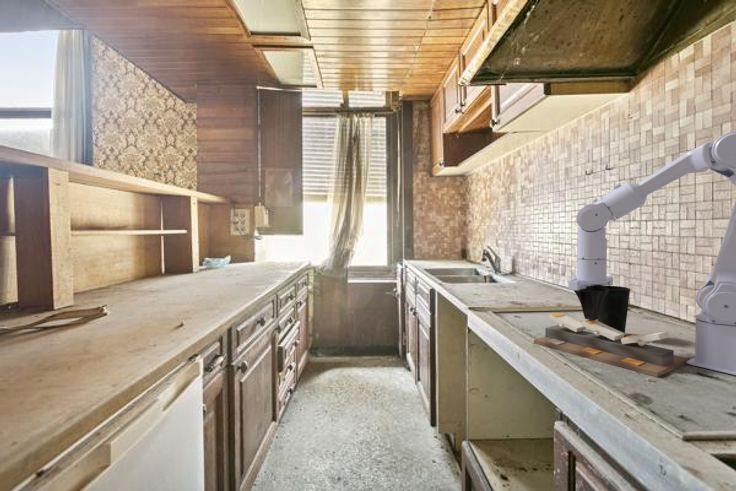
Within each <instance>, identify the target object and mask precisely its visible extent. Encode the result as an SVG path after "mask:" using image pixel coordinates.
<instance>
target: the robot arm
mask: <svg viewBox="0 0 736 491" xmlns="http://www.w3.org/2000/svg"><path fill="white" fill-rule="evenodd" d="M712 143H713V144H712ZM708 170H711V171H713V172H715V173H716V174H720V175H721V176H723V177H726V178H727V180H729V181H730V182H731V183H732V184H733V185H734V186H736V130H734V131H733V130H732V131H729V132H726V133H724V134H722V135H721V136H719V137H718V138H717V139H716V140H715V141H714V142H713V140H711V141H709V142H706V143H704V144H702V145H700V146H698V147H696V148H694V149H692V150H690V151H688V152H686V153H684V154H682V155H681V156H679V157H678V158H676V159H675V160H673V161H671V162H670V163H668V164H666V165H665V166H663V167H662V168H660V169H658V170H657V171H655V172H653V173H651V175H648V176H647V177H646V178H644V179H642V180H641V181H640V182H637V183H634V182H625V183H623V184H621V183H618V184H616V185H614V186H613V190H612V191H610V192H608V193H607V194H605V195H604V196H602V197H600V198H599V199H598V198H594V199H593V200H592V203H589V204H585V205H584V206H582V207H581V208H580V209H579V210H578V212H577V214H576V224H577V225H578V226H579V227H578V229H577V235H578V238H577V239H576V241H577V242H576V276H572V278H571V279H570V280H568V288H567V289H568V290H569V291H574V293H575V295H576V297H577V299H578V300H579V303H580V305H581V310H582V313H583V317H584V319H585V320H597V318H598V315H599V312H600V309H601V305H602V303H603V301H604V299H605V297H606V295H607V294H608V293H609V288H602V286H614V276H608V275H607V270H608V269H607V268H608V267H607V261H608V258H607V257H608V253H607V251H608V247H607V246H608V238H606V230H607V229H606V226H607V224H608V222H610V221H611V222H615V221H617V220H619V219H620V218H623V217H625V216H626V215H628V214H630V213H631V212H634V211H635V210H637V209H639V208H641V207H642V206H644V205H645V203H646V200H647V197H648V196H649V195H650V194H652V193H654V192H656V191H658V190H659V189H661V188H663V187H665V186H667V185H669V184H671V183H673V182H675V181H676V180H678V179H680V178H682V177H684V176H686V175H688V174H696V173H705V172H706V171H708ZM724 232H725V233H724V235H723V239H722V242H721V244H720V247H719V251H718V254H717V256H716V261H715V263H714V267H713V268H712V270H711V271H710V274H709V275H708V276H707V280H706V282H705V284H704V285H702V286H701V287H700V288H699V289H698V291H697V292H696V295H695V302H696V304H697V306H698V307H699V308H700V309H701V310H700V311H699V313H697V314H696V315H695V334H694V335H695V336H694V338H695V344H694V345H695V347H694V352H695V353H694V357H692V358H691V359H690V358H689V359H690V360H688V361H686V363H687V364H686V365H691V366H696V367H700V368H703V369H707V370H708V369H709V370H712V371H716V372H721V373H725V374H729V375H733V376H736V200H734V204H733V207H732V211H731V214H730V217H729V220H728V223H727V226H726V229H725V231H724ZM597 321H598V320H597Z"/></svg>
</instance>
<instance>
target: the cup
mask: <svg viewBox="0 0 736 491" xmlns="http://www.w3.org/2000/svg"><path fill="white" fill-rule="evenodd" d="M602 288H609V293H608V294H607V295H606V297H605V299H604V301H603V303H602V305H601V309H600V312H599V315H598V318H597V321H599V322H600V323H603V324H605V325H607V326H609V327H612V328H614V329H616V330H618V331H621V332H623V333H625V335H624V337H626V329H627V328H626V327H627V319H628V310H629V302H630V301H629V300H630V293H631V288H630V287H625V286H618V285H604V286H602Z"/></svg>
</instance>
